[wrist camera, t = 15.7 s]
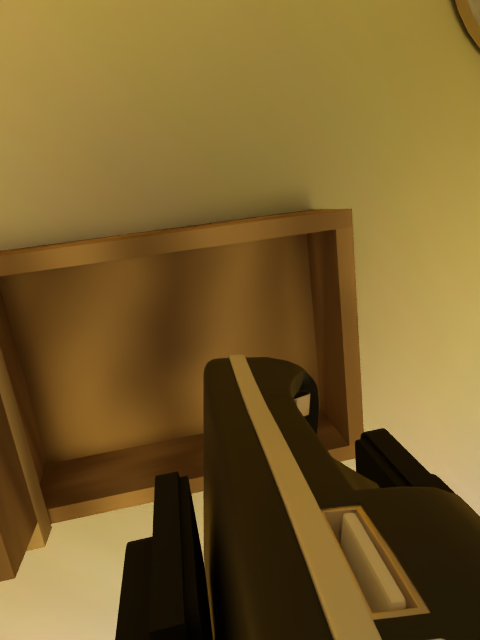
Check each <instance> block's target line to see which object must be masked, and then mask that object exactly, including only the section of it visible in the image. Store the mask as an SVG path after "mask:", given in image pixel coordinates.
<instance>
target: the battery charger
mask: <svg viewBox="0 0 480 640" xmlns="http://www.w3.org/2000/svg"><path fill="white" fill-rule="evenodd" d="M318 415H319V396H318V388H317V384H316V383H315V381H314V380H313V378H312V377H311V375H310V374H309V373H308V372H307V371H306V370H305V369H304V368H302V367H301V366H299V365H297V364H294V363H292V362H289V361H287V360H282V359H275V358H270V357H245V356H244V355H243V354H235V355H229V356H228V358H218V359H212V360H210V361H209V362H208V363H207V364H206V366H205V368H204V374H203V453H204V563H205V573H206V580H207V589H208V598H209V607H210V616H211V625H212V634H213V640H480V516H479V515H478V514H477V513H476V512H475V511H474V510H473V509H472V508H471V507H470V506H469V505H468V504H467V503H466V502H465V501H464V500H463V499H462V498H461V497H459V496H458V495H456V494H453V493H450V492H447V491H444V490H441V489H438V488H435V487H403V486H401V487H388V488H380V487H379V486H378V484H377V483H375V482H373V481H371V480H369V479H368V478H366V477H364V476H362V475H361V474H359V473H357V472H355V471H354V470H352V469H350V468H349V467H347V466H345V465H344V464H342V463H341V462H339V461H337V460H336V459H334V458H333V457H332V456H331V455H330V453H329V452H328V450H327V449H326V447H325V446H324V445H323V443H322V442H321V440H320V439H319V437H318V436H317V429H318Z"/></svg>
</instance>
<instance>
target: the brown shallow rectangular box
mask: <svg viewBox="0 0 480 640" xmlns="http://www.w3.org/2000/svg"><path fill="white" fill-rule="evenodd" d="M0 346H1V350H2V353H3V357H4V361H5V364H6V368H7V371H8V375H9V378H10V382H11V385H12V389H13V392H14V396H15V399H16V403H17V407H18V410H19V414H20V417H21V421H22V424H23V428H24V431H25V435H26V438H27V442H28V445H29V449H30V453H31V456H32V460H33V463H34V467H35V470H36V474H37V477H38V481H39V484H40V488H41V491H42V495H43V499H44V502H45V506H46V509H47V513H48V516H49V520H50V523H51V524H52V523H57V522H62V521H66V520H71V519H76V518H80V517H85V516H90V515H94V514H99V513H103V512H108V511H113V510H117V509H122V508H127V507H131V506H136V505H141V504H145V503H150V502H154V489H155V476H157V475H161V474H166V473H171V472H176V471H178V473H179V477H182V476H187V475H188V479H189V484H190V490H191V494H192V493H196V492H201V491H204V453H203V374H204V368H205V366H206V364H207V363H208V362H209V361H210V360H212V359H218V358H228V356H229V355H235V354H243V355H244V356H245V357H270V358H275V359H282V360H287V361H289V362H292V363H294V364H297V365H299V366H301V367H302V368H304V369H305V370H306V371H307V372H308V373H309V374H310V375H311V377H312V378H313V380H314V381H315V383H316V384H317V388H318V396H319V415H318V429H317V436H318V437H319V439H320V440H321V442H322V443H323V445H324V446H325V447H326V449H327V450H328V452H329V453H330V455H331V456H332V457H333V458H334V459H336V460H337V461H339V462H340V461H345V460H350V459H354V458H355V441H356V440H358V439H360V436H361V434H362V433H363V432H364V429H363V410H362V391H361V373H360V354H359V335H358V317H357V298H356V279H355V260H354V242H353V223H352V209H317V210H307V211H300V212H292V213H285V214H277V215H270V216H262V217H254V218H247V219H239V220H232V221H224V222H217V223H209V224H202V225H194V226H187V227H179V228H172V229H164V230H156V231H149V232H141V233H134V234H126V235H119V236H111V237H104V238H96V239H89V240H81V241H73V242H66V243H58V244H51V245H43V246H36V247H28V248H21V249H13V250H6V251H0Z"/></svg>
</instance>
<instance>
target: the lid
mask: <svg viewBox="0 0 480 640" xmlns="http://www.w3.org/2000/svg"><path fill="white" fill-rule="evenodd" d="M51 528H52V527H51V523H50V520H49V516H48V513H47V509H46V506H45V502H44V499H43V495H42V491H41V488H40V484H39V481H38V477H37V474H36V470H35V467H34V463H33V460H32V456H31V453H30V449H29V445H28V442H27V438H26V435H25V431H24V428H23V424H22V421H21V417H20V414H19V410H18V407H17V403H16V399H15V396H14V392H13V389H12V385H11V382H10V378H9V375H8V371H7V368H6V364H5V361H4V357H3V353H2V350H1V346H0V582H1V581H5V580H9V579H14V578H15V577H16V574H17V572H18V569H19V567H20V565H21V562H22V560H23V557H24V555H25V552H26V551H28V550H33V549H37V548H42V547H45V545H46V542H47V540H48V537H49V534H50V531H51Z"/></svg>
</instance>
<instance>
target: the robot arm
mask: <svg viewBox="0 0 480 640" xmlns="http://www.w3.org/2000/svg"><path fill="white" fill-rule="evenodd" d="M455 2H456V5H457V9H458V12H459V14H460V16H461V18H462V20H463V22H464V25H465V27H466V29H467V31H468V33H469V34H470V36H471V37H472V38H473V40H474V41H475V42H476V44H477V45H478V47H479V48H480V0H455ZM355 458H356V472H357V473H359V474H361V475H362V476H364V477H366V478H368V479H369V480H371V481H373V482H375V483H377V484H378V486H379V487H380V488H388V487H401V486H403V487H435V488H438V489H441V490H444V491H447V492H450V493H453V494H455V493H454V492H453V491H452V490H451V489H450V488H449V487H448V486H447V485H446V484H445V483H444V482H443V481H442V480H441V479H440V478H439V477H437V476H436V475H434V474H430V473H429V472H428V471H427V470H426V469H425V468H424V467H423V466H422V465H421V464H420V463H419V462H418V461H417V460H416V459H415V458H414V457H413V456H412V455H411V454H410V453H409V452H408V451H407V450H406V449H405V448H404V447H403V446H402V445H401V444H400V443H399V442H398V441H397V440H396V439H395V438H394V437H393V436H392V435H391V434H390V433H389V432H388V431H387V430H386V429H383V428H382V429H377V430H372V431H367V432H363V433H362V434H361V436H360V439H358V440H356V441H355ZM115 640H213V634H212V625H211V616H210V607H209V598H208V589H207V580H206V573H205V567H204V561H203V556H202V550H201V545H200V539H199V534H198V528H197V523H196V517H195V512H194V506H193V501H192V495H191V490H190V484H189V479H188V475H187V476H182V477H179V473H178V471H176V472H171V473H166V474H161V475H157V476H155V489H154V514H153V537H149V538H145V539H140V540H136V541H131V542H128V543H127V546H126V552H125V561H124V569H123V578H122V586H121V595H120V603H119V612H118V621H117V629H116V638H115Z"/></svg>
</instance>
